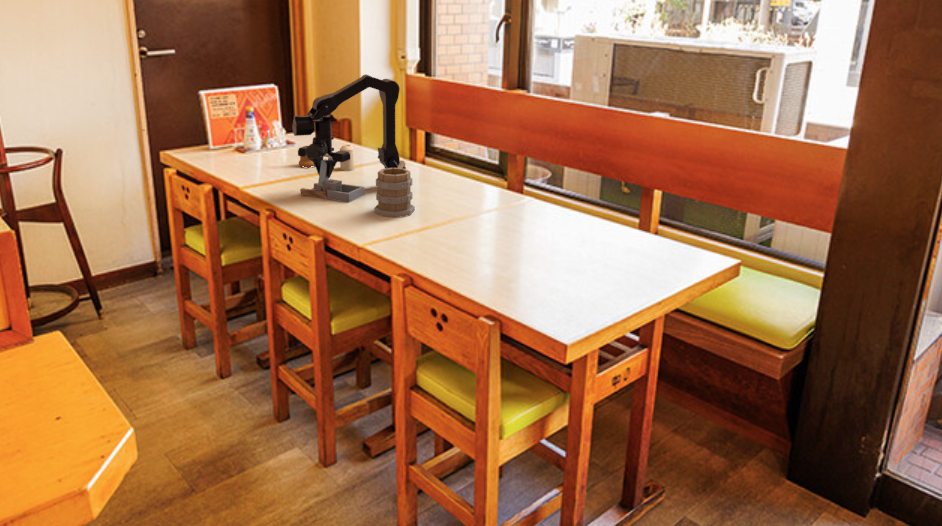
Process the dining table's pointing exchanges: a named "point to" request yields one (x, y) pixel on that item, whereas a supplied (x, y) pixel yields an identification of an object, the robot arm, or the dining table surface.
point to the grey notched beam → (322, 175)
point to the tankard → (394, 192)
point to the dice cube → (332, 185)
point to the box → (346, 193)
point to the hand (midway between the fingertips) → (324, 177)
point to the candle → (348, 164)
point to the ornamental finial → (305, 162)
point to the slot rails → (314, 192)
